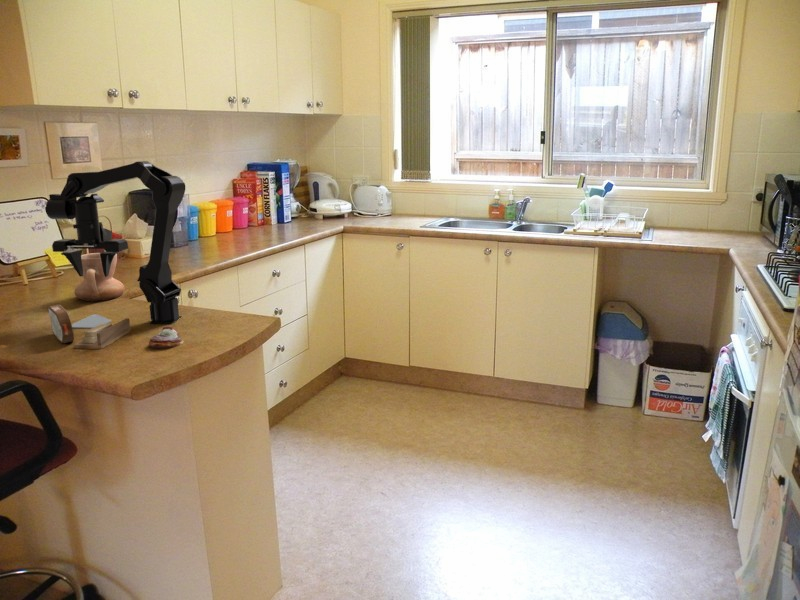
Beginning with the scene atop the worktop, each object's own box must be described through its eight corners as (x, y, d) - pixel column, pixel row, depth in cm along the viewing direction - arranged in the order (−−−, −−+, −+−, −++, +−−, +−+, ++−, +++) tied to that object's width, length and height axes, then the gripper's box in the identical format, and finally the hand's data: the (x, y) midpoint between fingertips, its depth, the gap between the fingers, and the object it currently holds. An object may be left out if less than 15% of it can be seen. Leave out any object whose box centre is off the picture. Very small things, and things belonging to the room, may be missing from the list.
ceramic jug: (85, 294, 216) (80, 251, 212) (131, 292, 218) (126, 250, 214) (66, 307, 198) (60, 261, 195) (116, 305, 200) (111, 259, 197)
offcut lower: (115, 331, 170) (114, 326, 169) (93, 342, 160) (93, 338, 160) (104, 331, 170) (103, 326, 170) (82, 342, 160) (81, 337, 160)
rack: (130, 332, 171) (129, 318, 171) (101, 348, 158) (99, 333, 157) (105, 331, 172) (103, 317, 171) (74, 348, 159) (72, 333, 158)
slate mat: (133, 311, 193) (133, 309, 193) (98, 328, 175) (97, 327, 175) (104, 310, 194) (104, 309, 194) (66, 328, 176) (66, 326, 176)
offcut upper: (112, 327, 168) (111, 323, 168) (94, 336, 161) (94, 332, 160) (102, 327, 169) (102, 323, 168) (84, 336, 161) (84, 332, 161)
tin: (76, 345, 161) (71, 311, 159) (62, 347, 160) (57, 314, 158) (63, 331, 173) (58, 300, 171) (50, 334, 171) (45, 302, 169)
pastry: (188, 342, 163) (186, 322, 162) (176, 351, 156) (174, 331, 155) (156, 342, 164) (154, 322, 162) (143, 351, 156) (141, 331, 155)
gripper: (134, 216, 184) (140, 271, 188) (71, 216, 186) (78, 270, 189) (114, 221, 173) (121, 278, 177) (47, 221, 175) (55, 278, 179)
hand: (94, 276), depth 181 cm, fingers open, 7 cm apart
